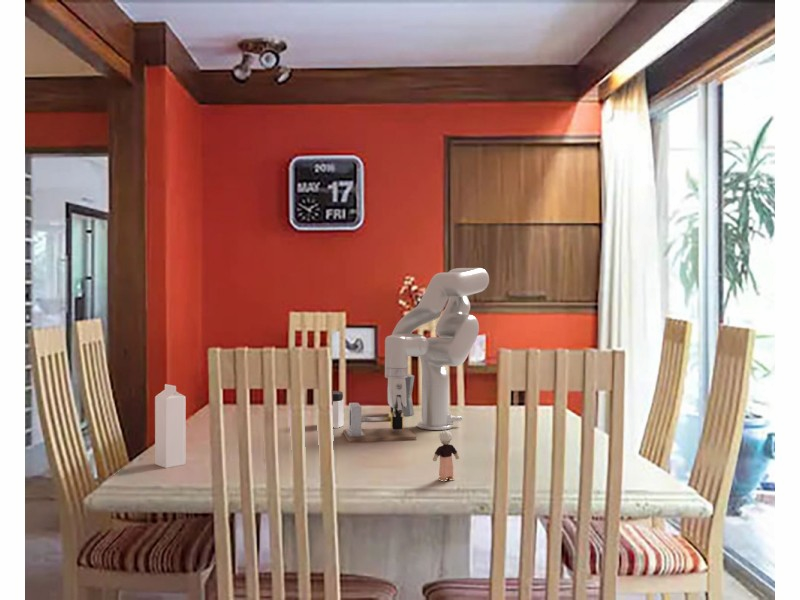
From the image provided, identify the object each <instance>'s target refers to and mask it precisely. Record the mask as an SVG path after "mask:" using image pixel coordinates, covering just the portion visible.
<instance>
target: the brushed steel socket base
mask: <svg viewBox="0 0 800 600" xmlns="http://www.w3.org/2000/svg"><path fill="white" fill-rule="evenodd" d="M361 418H362V406H361V405H360V403H359V402H349V403H348V428H346V429H345V430H346V433H347V434H348V436H349V437H365V435H364V433H363V432H362V430H361V429H362V422H361Z"/></svg>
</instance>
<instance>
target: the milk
mask: <svg viewBox="0 0 800 600" xmlns="http://www.w3.org/2000/svg"><path fill="white" fill-rule="evenodd" d="M186 406H187V405H186V396H185V395H184V394H182V393H180V392H178V391H177V386H176V385H172V384H167V383H165V384H164V389H163V390H162V391H161V392H160V393H158V394H156V396H155V397H154V431H155V433H154V459H155V460H154V465H156V466H159V467H162V468H165V469H169V468H174V467H178V466H179V467H180V466H185V465H186V452H187V451H186V448H187V447H186V442H187V441H186V439H187V438H186V428H187V427H186V420H187V419H186V418H187V417H186V413H187V412H186Z"/></svg>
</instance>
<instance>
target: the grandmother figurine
mask: <svg viewBox="0 0 800 600" xmlns="http://www.w3.org/2000/svg"><path fill="white" fill-rule="evenodd" d="M438 436H439V441H440V443H441V445H440V446H438V447H437V448H436V450H435V452H434V455H433V457H432V461H433V462H436V461H438V458H439V469H438V476H439V477H438V479H440V480H443V481H445V480H448V479H454V480H455V477H454V462H453V456H454V458H455V459H456V460H459V459H460V456H459V454H458V451H457V449H456V448H455V446H454V445H453V444H450V443H451V441H452V440H453V436H452V433H451V432H450V431H449V430H443V431H441V432H440V433H439V435H438ZM452 455H453V456H452ZM446 478H448V479H446Z"/></svg>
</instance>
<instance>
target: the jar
mask: <svg viewBox="0 0 800 600" xmlns="http://www.w3.org/2000/svg"><path fill="white" fill-rule="evenodd" d="M332 391H333V423H334V428H333V429H339V427H340V428H342V427H343V426H344V425H345V420H344V419H345V415H344V414H345V411H344V410H345V405H344V404H345V400H344V395H343V394H344V392H343V391H339V390H332Z"/></svg>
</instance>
